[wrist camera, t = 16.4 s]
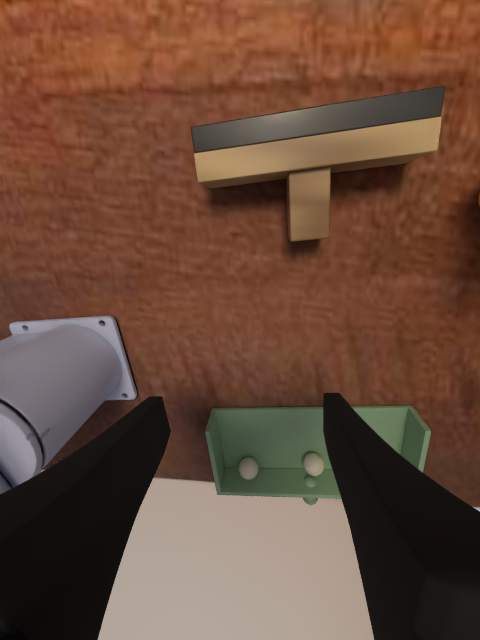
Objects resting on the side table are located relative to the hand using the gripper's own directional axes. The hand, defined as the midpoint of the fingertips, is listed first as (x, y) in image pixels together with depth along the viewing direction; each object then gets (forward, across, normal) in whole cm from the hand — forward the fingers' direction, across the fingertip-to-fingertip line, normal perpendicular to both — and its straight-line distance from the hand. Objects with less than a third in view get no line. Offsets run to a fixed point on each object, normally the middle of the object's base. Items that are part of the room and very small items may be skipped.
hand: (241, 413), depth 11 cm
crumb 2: (+8, -4, +13) cm, 16 cm away
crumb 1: (+8, +2, +14) cm, 16 cm away
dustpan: (+9, -4, +12) cm, 16 cm away
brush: (+8, -4, -13) cm, 15 cm away
